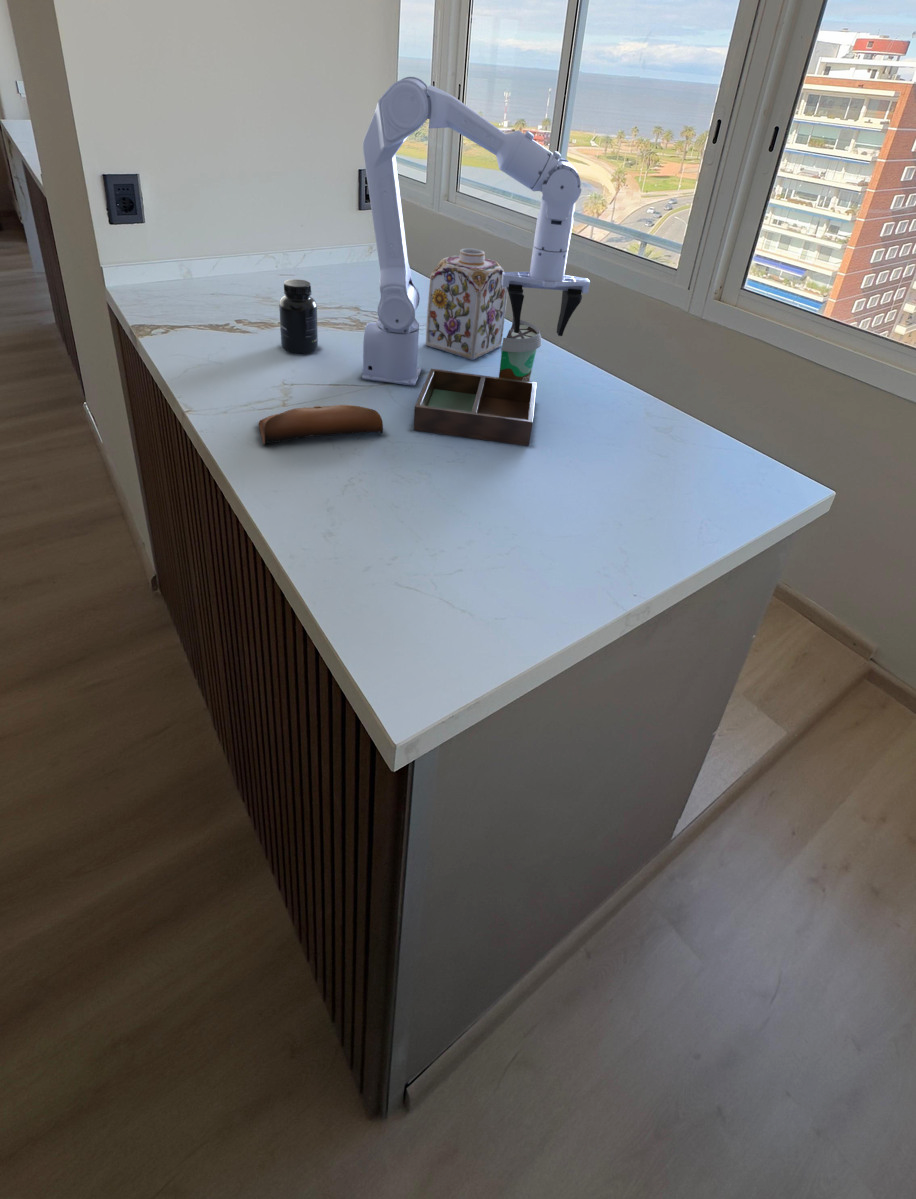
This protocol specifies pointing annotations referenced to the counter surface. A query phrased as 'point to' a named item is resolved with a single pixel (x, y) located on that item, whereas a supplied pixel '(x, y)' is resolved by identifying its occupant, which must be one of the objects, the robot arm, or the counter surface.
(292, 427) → the sunglasses case
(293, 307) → the supplement bottle
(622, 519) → the counter surface
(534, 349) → the food container
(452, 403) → the organiser tray
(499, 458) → the counter surface
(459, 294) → the decorative jar
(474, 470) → the counter surface
